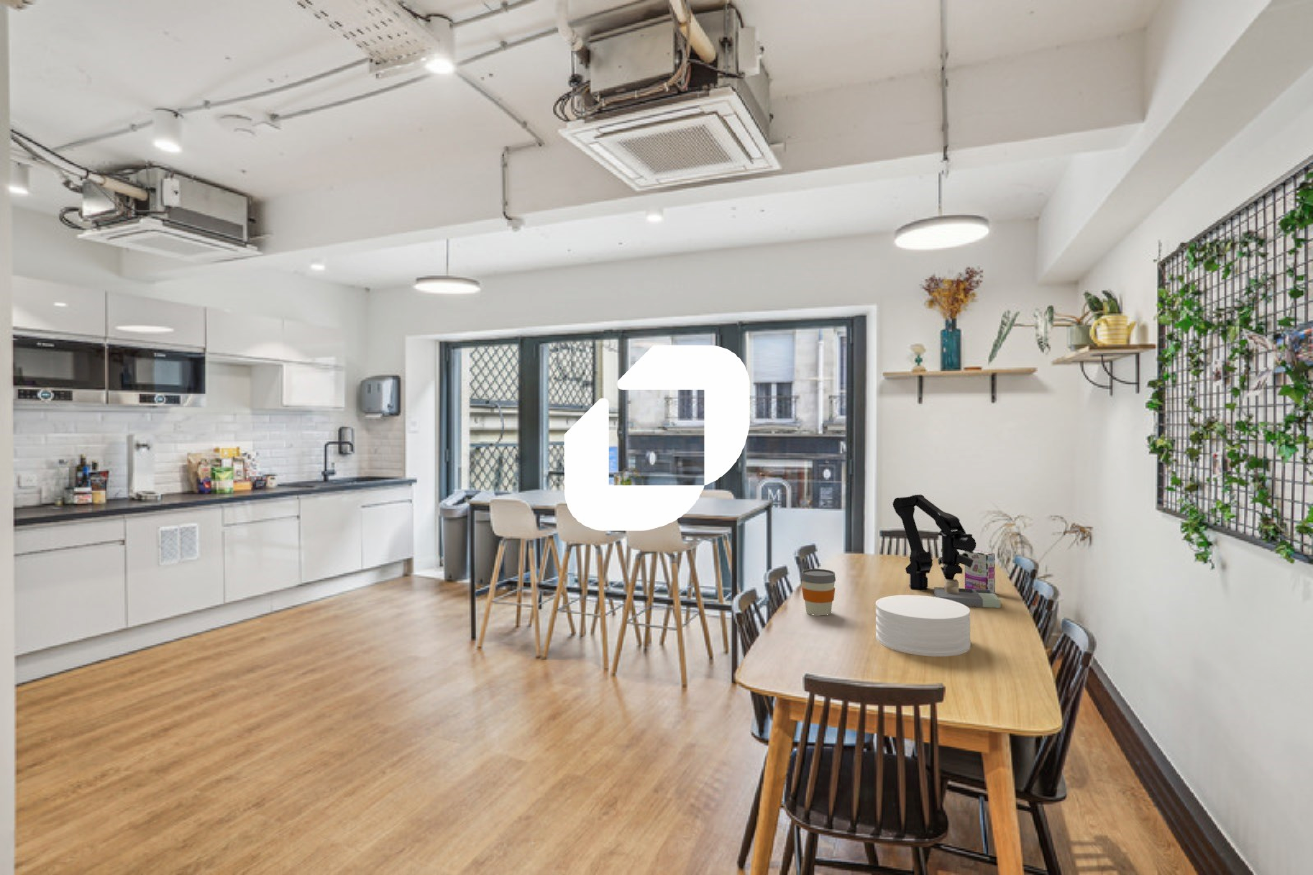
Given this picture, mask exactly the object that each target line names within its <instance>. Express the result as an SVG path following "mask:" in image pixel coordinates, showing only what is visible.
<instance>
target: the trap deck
mask: <svg viewBox="0 0 1313 875" xmlns="http://www.w3.org/2000/svg"><path fill="white" fill-rule="evenodd" d="M933 594H934V597H937V598H943V599H948V600H952V601H955V602H958V603H961V604H963V605H965V606H967V607H974V606H976V607H977V608H996V609H1001V599H1000V598H999V597H998V595H996V593H993V592H992V591H991V590H986V589H965V587H964V588H961V587H959V594H957V593H946V592H945V590H944V587H939V586H935V587H933ZM976 607H975V608H976Z"/></svg>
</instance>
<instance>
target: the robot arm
mask: <svg viewBox="0 0 1313 875" xmlns="http://www.w3.org/2000/svg"><path fill="white" fill-rule="evenodd" d="M892 507H893V509H894V512H895V514H897V516H898V517H899V518H900V519H901V521H902V525H903V529H904V532H905V536H906V538H907V541H908V545H909V548H910V554H909V564H908V565H907V566H906V567H905V573H906V574H908V575H909V584H908V586H909V588H910V589H911V590H923V591H924V590H925V591H926V590H928V587H929V581H928V580H929V579H928V576H927V574H931V569H932V567H933V561H934V560H933V558H932V554H931V552H930V551H926V550H925V549H924V547H923V543H922V539H921V537H920V534H919V531H918V530H919V529H918V527H917V525H916V524H917V523H916V522H915V518H914V513H915V510H916V508H915V507H917V508H918V509H920V510H921V511H922V512H924V514H926V515H928V516H929V517H930V518H931V519H933V521H935V525H936V526H937V527H938V528H939V529H940V531H939V532H938V533H937V534H936V535H937V536H940V537H941V549H940V552H941V556H940V557H939V558H937V565H939V566H941V565H942V566H941V567H940V570H941V572H942V575H943V576H944V579H955V575H957V574H958V575H959V574H961V575H962V574H963V568H962V566H960V565H964V566H965V565H966V566H968V567H970V568H971V566H972V563H973V561H974V560H973V559H972V558H970V557H968V554H967V553H965V551H968V552H972V551H974V550H976V548H977V542H976V540H975V538H974V537H973V534H971V533H966V530H965V528H964V527H963V525H962V524H961V522H960V518H959V517H958V516H955V514H952V513H949V512H946V511H943V510H942V509H940V508H939V507H937V506H936V505H935V504H934V503H933V502H931V501H930V500H929V499H927V498H926V497H925V496H924V495H922V494H912V495H909V496H902V497H895V498H894V500H893V502H892ZM958 550H959V551H964V552H962V553H960V552H959V551H958Z"/></svg>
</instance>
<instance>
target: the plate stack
mask: <svg viewBox="0 0 1313 875" xmlns="http://www.w3.org/2000/svg"><path fill="white" fill-rule="evenodd" d="M875 616H876V617H875V624H876V625H875V639H876V640H877V642H878V643H879V644H881V645H882V646H884V647H886V648H888V649H891V650H893V651H897V652H901V653H905V654H911V655H914V656H915V655H916V656H926V657H953V656H959V655H962V654H965V653H967V652H969V651H970V649H971V617H970V616H971V609H970V608H969V606H965V605H963V604H961V603H958V602H955V601H952V600H948V599H943V598H937V597H935V596H929V595H928V596H927V595H918V594H898V595H889V596H884V597H881V598H879V599H877V600H876V601H875Z"/></svg>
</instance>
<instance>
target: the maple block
mask: <svg viewBox="0 0 1313 875" xmlns="http://www.w3.org/2000/svg"><path fill="white" fill-rule="evenodd" d="M943 581H944V582H943V584H944V587H943V588H944V590H945V592H946V593H957V594H959V588H960V586H959V585H960V582H959V580H958V579H955V578H954V579H945V578H944V580H943Z"/></svg>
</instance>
